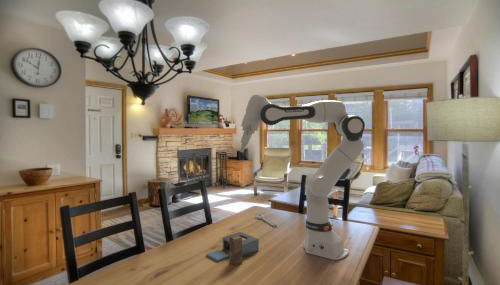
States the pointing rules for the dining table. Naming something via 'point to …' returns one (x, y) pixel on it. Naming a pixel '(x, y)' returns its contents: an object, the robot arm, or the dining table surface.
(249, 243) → the guard
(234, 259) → the brown block
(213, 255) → the pad
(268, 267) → the dining table surface
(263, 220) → the adjustable wrench
